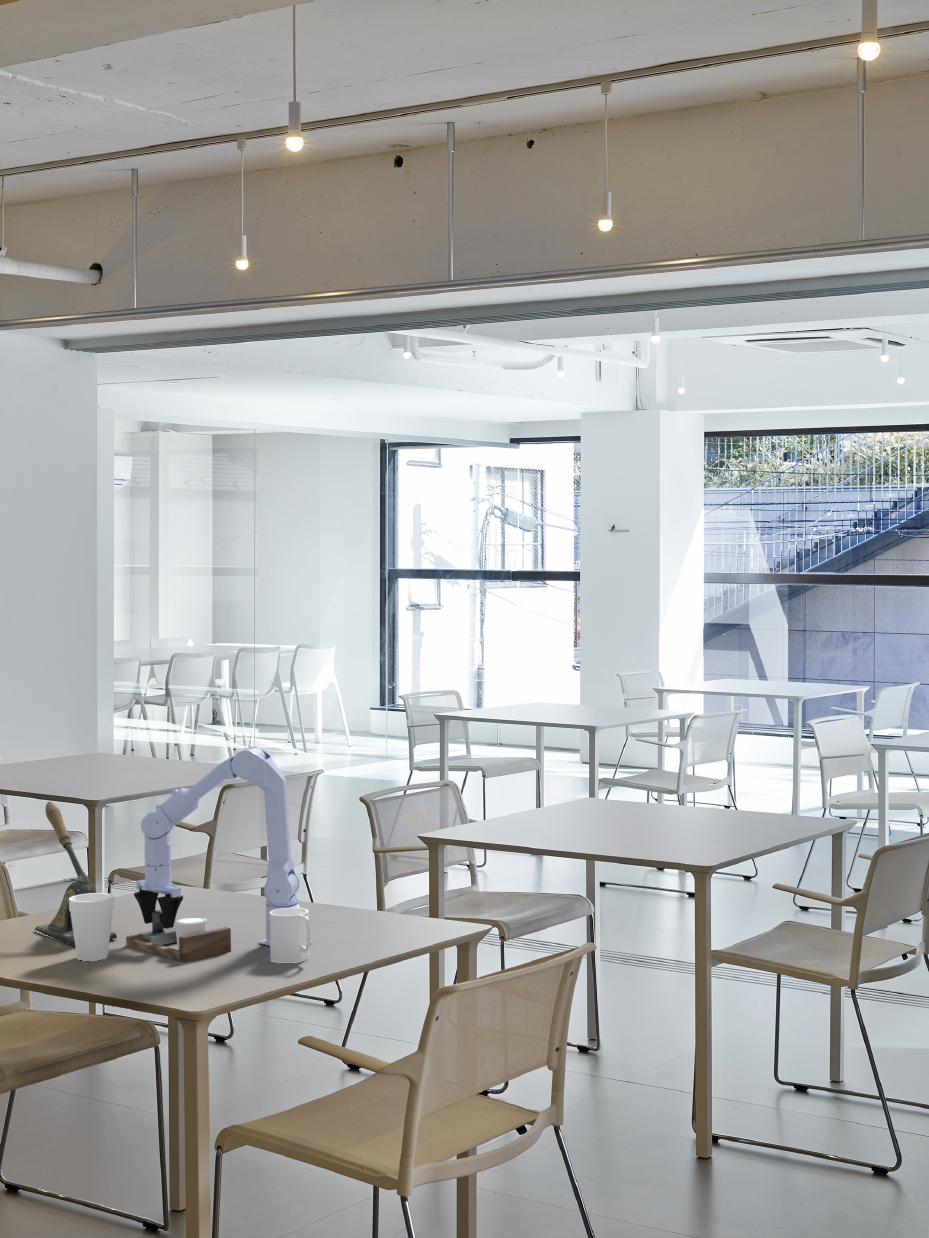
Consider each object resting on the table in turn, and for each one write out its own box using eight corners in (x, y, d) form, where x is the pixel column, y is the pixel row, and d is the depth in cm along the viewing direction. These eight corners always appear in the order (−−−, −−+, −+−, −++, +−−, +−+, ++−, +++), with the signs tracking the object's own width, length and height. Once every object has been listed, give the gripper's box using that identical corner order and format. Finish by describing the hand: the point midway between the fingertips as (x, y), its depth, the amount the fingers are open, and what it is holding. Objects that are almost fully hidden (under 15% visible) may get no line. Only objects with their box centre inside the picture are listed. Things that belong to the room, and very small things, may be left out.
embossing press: (72, 949, 310) (69, 813, 310) (31, 931, 328) (29, 802, 328) (118, 941, 317) (116, 808, 316) (76, 923, 335) (74, 798, 335)
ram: (182, 940, 314) (181, 910, 314) (150, 947, 309) (150, 916, 309) (170, 937, 318) (170, 907, 317) (139, 944, 312) (139, 913, 312)
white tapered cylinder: (200, 956, 301) (199, 923, 301) (170, 955, 302) (169, 922, 302) (212, 948, 308) (211, 916, 308) (182, 947, 309) (182, 915, 309)
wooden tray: (230, 950, 305) (230, 928, 305) (183, 961, 296) (183, 938, 296) (172, 935, 320) (172, 913, 320) (126, 945, 312) (125, 923, 312)
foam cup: (74, 965, 295) (73, 903, 295) (65, 956, 303) (64, 895, 303) (119, 959, 299) (118, 898, 299) (109, 950, 307) (108, 891, 307)
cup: (293, 969, 289) (292, 920, 289) (263, 958, 298) (262, 911, 298) (326, 962, 294) (326, 914, 294) (295, 952, 303) (295, 905, 303)
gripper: (124, 863, 316) (125, 923, 316) (161, 870, 306) (162, 933, 306) (151, 858, 321) (152, 918, 321) (188, 866, 311) (189, 927, 311)
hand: (158, 925), depth 314 cm, fingers open, 7 cm apart
